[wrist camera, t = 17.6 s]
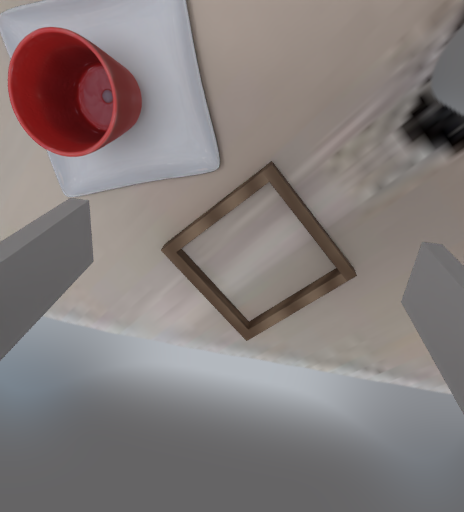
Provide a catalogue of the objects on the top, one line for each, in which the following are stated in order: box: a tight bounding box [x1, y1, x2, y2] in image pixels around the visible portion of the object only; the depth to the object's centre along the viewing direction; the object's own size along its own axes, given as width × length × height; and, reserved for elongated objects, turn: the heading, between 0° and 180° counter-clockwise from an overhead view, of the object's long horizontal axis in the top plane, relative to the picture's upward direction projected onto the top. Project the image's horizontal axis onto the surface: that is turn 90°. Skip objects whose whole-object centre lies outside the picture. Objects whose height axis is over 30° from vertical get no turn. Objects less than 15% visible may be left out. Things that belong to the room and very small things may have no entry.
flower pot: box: [8, 27, 142, 157], centre depth 39 cm, size 11×11×10 cm
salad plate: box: [0, 0, 220, 197], centre depth 45 cm, size 21×21×3 cm
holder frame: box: [161, 161, 357, 341], centre depth 53 cm, size 19×19×2 cm
